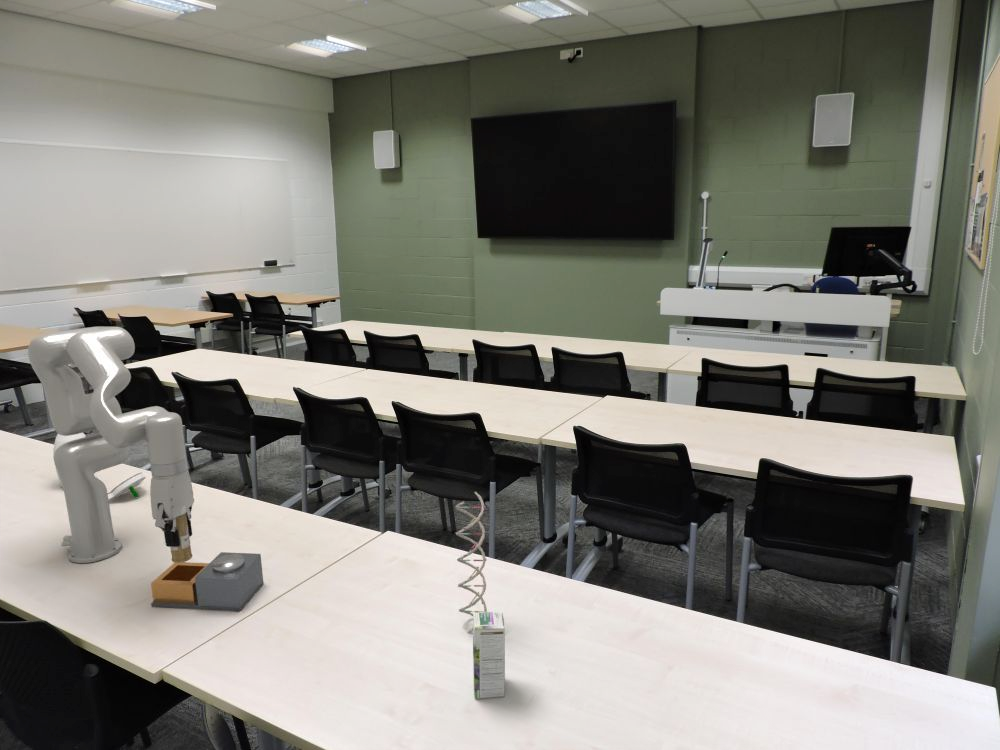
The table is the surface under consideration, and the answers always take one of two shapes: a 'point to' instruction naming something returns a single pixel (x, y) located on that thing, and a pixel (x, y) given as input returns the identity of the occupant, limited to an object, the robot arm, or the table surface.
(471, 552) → the dna model
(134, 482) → the tabbed white plastic disc
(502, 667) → the syrup box
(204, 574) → the grey orange box device
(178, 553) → the spice jar
